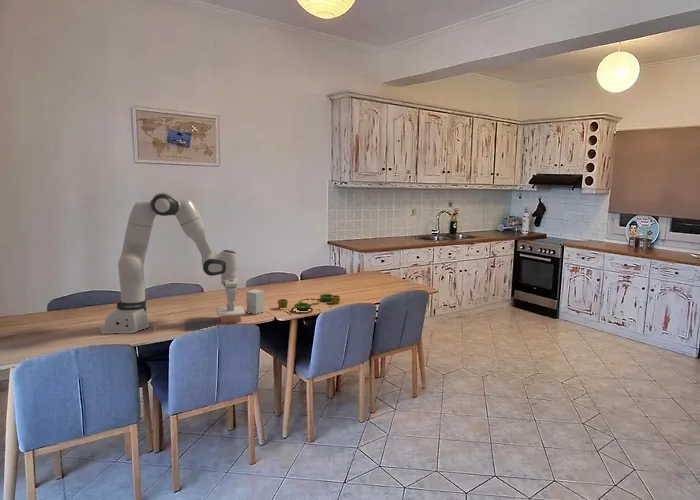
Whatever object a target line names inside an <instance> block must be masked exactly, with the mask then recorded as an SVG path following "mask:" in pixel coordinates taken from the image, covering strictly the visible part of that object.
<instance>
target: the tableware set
mask: <svg viewBox="0 0 700 500" xmlns="http://www.w3.org/2000/svg"><path fill="white" fill-rule="evenodd" d="M319 298H320V299H317V298H312V297H311V298H301V299H300V300H299V302H297V303H294V304H293V307H292V308H291V309H290V311H291V310H292V311H293V309H294V308H297V310H299V311H308V309H311V311H308V312H298V313H306V314H310V313H312V312H313V311H314V309H313V308H312V306H315V305H318V304H320V303H321V300H323V301H322V302H327V301H328V302H331V304H332V305H326V306H327V307H328V309H329V308H330V309H331V308H332V307H336V306H343V304H342V303H341V302H340V300H341V296H340V295H338V294H332V293H323V294H319ZM309 299H311V300H317V301H319V302H318V303H317V302H316V303H312V304H308V303H303V302H301V301H303V300H309ZM288 301H289V300H288V299H287V298H286V299H285V298H281V299H277V306H278V309H279V308H286V309H287V307H288ZM327 307H326V308H327ZM292 311H291V312H292ZM294 312H296V311H293V312H292V313H294ZM309 312H310V313H309ZM298 313H297V314H298Z"/></svg>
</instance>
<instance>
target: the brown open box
mask: <svg viewBox="0 0 700 500" xmlns="http://www.w3.org/2000/svg"><path fill="white" fill-rule="evenodd" d="M219 319H220V323H221V324H228V323H229V324H234V323H242V315H231V316H219Z"/></svg>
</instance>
